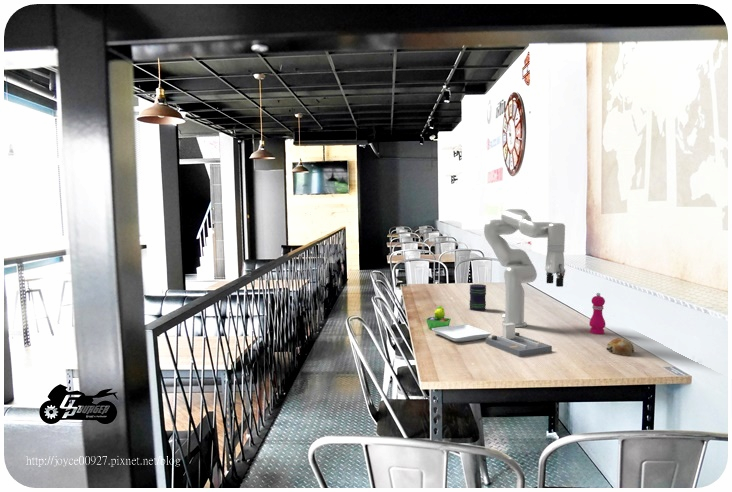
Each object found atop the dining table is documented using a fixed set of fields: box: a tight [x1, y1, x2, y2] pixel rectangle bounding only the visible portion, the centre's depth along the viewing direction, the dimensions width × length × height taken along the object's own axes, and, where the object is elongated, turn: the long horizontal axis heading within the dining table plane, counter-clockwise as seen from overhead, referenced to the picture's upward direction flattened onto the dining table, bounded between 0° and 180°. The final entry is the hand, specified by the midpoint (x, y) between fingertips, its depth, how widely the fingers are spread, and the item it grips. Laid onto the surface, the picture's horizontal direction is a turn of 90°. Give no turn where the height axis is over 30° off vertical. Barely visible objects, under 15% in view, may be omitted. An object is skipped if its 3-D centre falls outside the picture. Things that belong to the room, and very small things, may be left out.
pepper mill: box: [588, 292, 606, 335], centre depth 239 cm, size 7×7×20 cm
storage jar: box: [469, 283, 487, 312], centre depth 296 cm, size 10×10×15 cm
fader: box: [501, 323, 516, 339], centre depth 219 cm, size 3×5×7 cm, turn 114°
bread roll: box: [606, 337, 635, 356], centre depth 206 cm, size 10×10×8 cm
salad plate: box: [431, 324, 492, 343], centre depth 232 cm, size 21×21×3 cm
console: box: [485, 331, 553, 358], centre depth 213 cm, size 22×18×4 cm
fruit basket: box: [425, 305, 451, 330], centre depth 248 cm, size 11×9×11 cm
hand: (554, 284), depth 229 cm, fingers open, 9 cm apart
